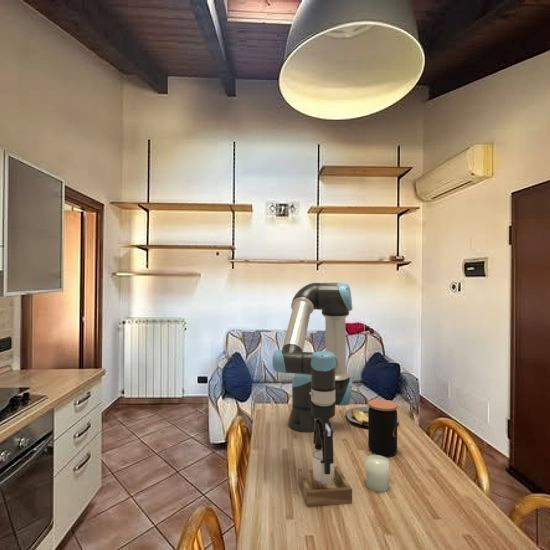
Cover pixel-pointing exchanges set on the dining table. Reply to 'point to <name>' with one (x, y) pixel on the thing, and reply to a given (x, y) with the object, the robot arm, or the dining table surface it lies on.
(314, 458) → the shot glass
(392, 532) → the dining table surface
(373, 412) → the coffee jar
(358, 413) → the food plate
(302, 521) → the dining table surface
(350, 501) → the bay
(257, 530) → the dining table surface
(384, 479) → the cream rounded cylinder
